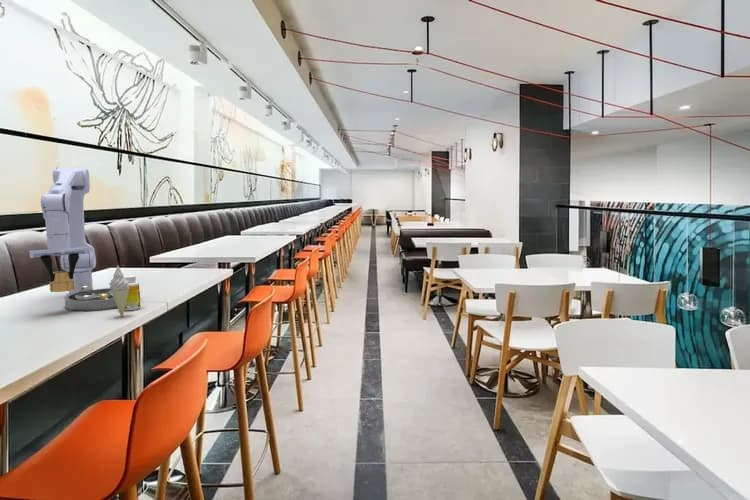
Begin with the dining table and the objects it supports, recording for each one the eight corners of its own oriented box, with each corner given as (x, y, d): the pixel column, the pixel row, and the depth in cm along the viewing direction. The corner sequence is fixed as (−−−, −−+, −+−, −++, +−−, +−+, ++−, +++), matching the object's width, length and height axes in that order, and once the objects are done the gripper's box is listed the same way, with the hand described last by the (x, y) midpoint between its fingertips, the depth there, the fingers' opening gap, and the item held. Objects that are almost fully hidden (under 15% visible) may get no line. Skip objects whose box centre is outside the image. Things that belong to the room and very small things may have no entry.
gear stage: (62, 302, 162) (60, 283, 161) (131, 294, 174) (130, 276, 174) (70, 314, 145) (68, 293, 144) (146, 304, 158) (145, 284, 157)
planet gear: (49, 290, 148) (47, 271, 148) (73, 287, 152) (72, 269, 151) (51, 292, 143) (49, 274, 143) (76, 290, 147) (74, 272, 147)
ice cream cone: (116, 314, 146) (112, 263, 144) (134, 313, 146) (131, 263, 144) (108, 318, 141) (105, 266, 139) (127, 318, 141) (123, 265, 139)
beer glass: (142, 309, 152) (140, 276, 150) (122, 312, 148) (120, 278, 147) (137, 306, 156) (135, 274, 155) (118, 308, 152) (116, 276, 151)
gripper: (28, 236, 138) (33, 284, 140) (88, 233, 147) (91, 278, 149) (27, 235, 144) (31, 281, 145) (84, 232, 153) (88, 275, 154)
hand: (61, 279), depth 147 cm, fingers closed on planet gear, 4 cm apart
